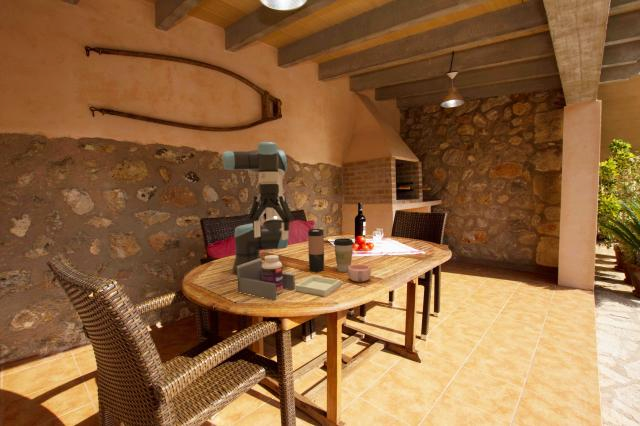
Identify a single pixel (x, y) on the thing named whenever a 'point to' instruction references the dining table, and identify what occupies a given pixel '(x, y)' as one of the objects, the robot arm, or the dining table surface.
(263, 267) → the pill bottle
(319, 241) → the travel mug
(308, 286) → the tray
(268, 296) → the bay
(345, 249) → the coffee cup
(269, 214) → the robot arm
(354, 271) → the mug
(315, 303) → the dining table surface
